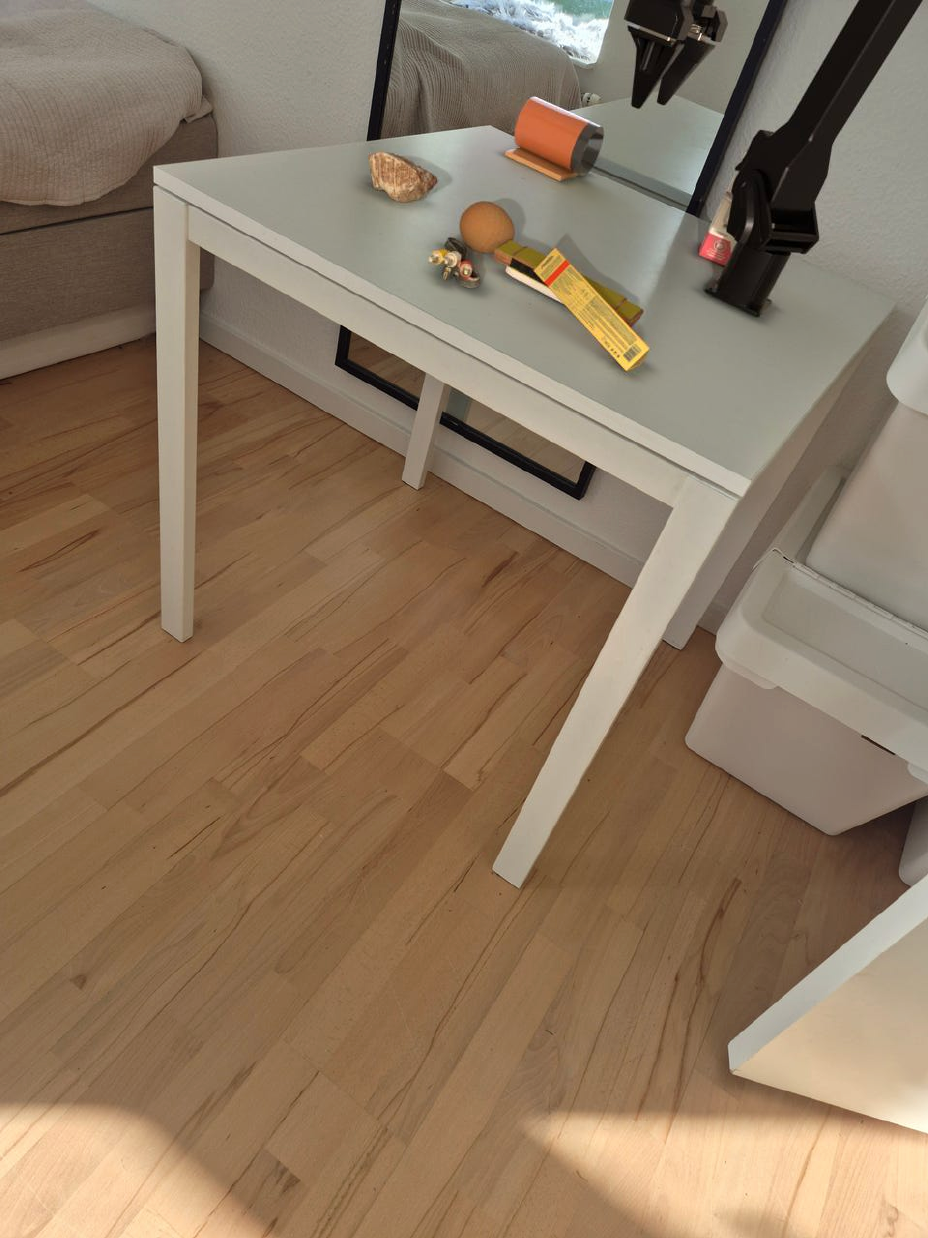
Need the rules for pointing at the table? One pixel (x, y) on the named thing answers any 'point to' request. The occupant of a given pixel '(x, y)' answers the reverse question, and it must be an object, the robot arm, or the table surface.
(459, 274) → the composite cable
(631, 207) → the table surface
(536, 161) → the coaster
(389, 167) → the stone
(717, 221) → the ink box
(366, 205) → the table surface
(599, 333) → the chocolate bar
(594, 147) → the jar
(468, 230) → the egg
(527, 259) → the olive brown bar
